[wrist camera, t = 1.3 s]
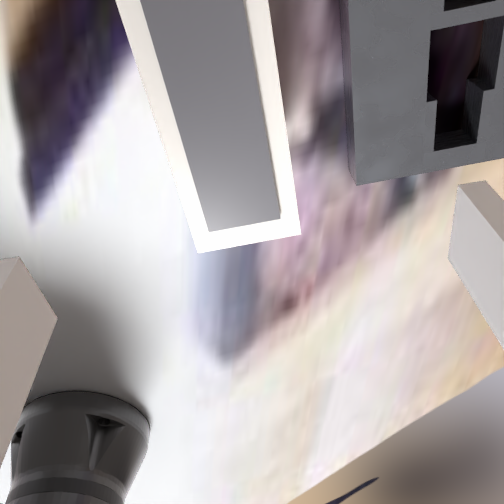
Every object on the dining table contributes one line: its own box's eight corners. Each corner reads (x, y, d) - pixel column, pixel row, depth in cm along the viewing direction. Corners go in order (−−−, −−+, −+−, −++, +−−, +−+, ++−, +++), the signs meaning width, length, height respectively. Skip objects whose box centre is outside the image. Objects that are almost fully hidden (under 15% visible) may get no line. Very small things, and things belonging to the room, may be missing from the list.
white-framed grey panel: (202, 171, 34) (197, 256, 26) (135, -70, 25) (95, -55, 17) (281, 155, 34) (301, 237, 26) (242, -95, 25) (255, -92, 16)
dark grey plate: (348, 169, 35) (356, 185, 33) (329, -178, 23) (339, -185, 21) (532, 134, 34) (552, 148, 32) (614, -246, 22) (652, -260, 20)
